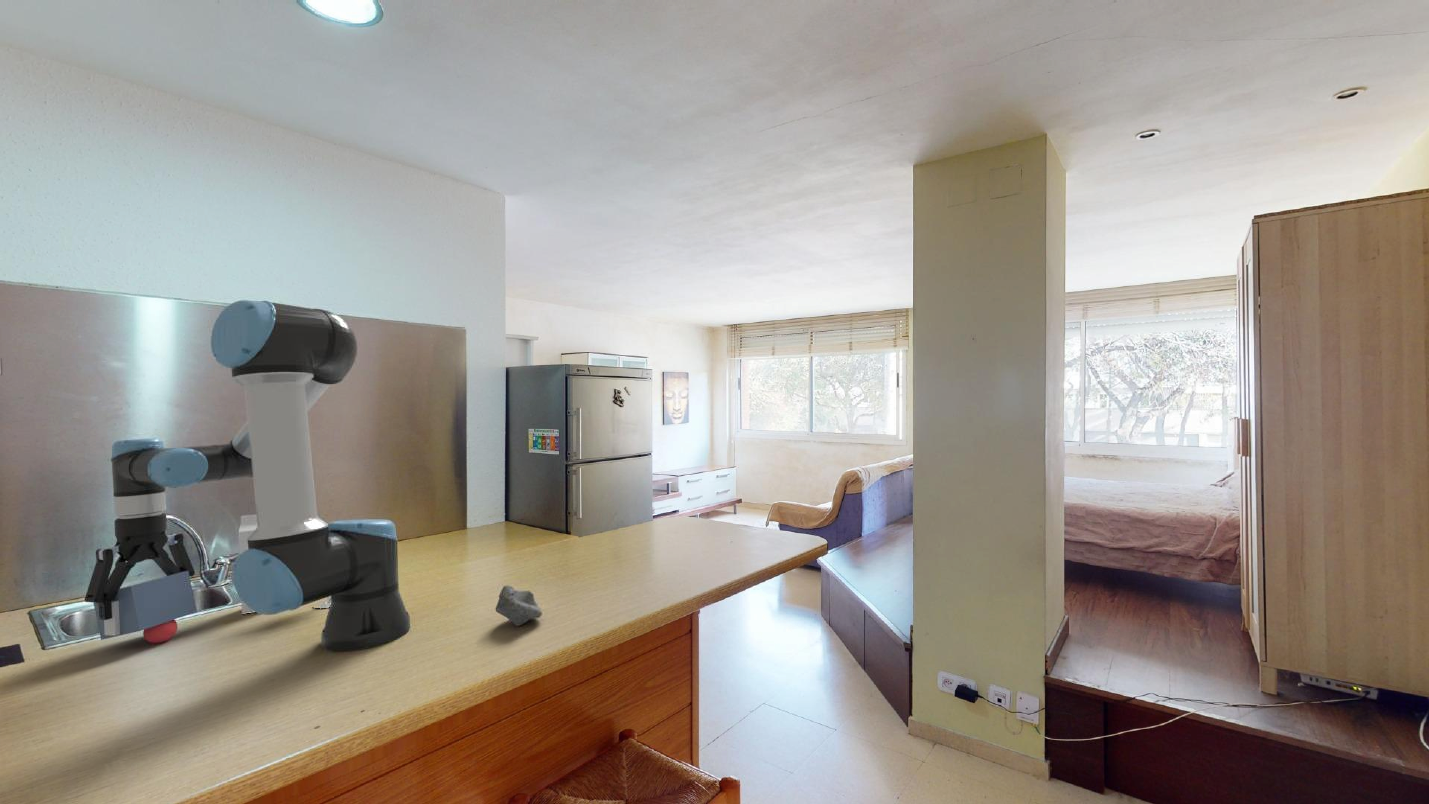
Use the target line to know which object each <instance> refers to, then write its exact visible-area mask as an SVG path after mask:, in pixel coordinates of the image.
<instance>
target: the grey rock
mask: <svg viewBox="0 0 1429 804" xmlns="http://www.w3.org/2000/svg"><path fill="white" fill-rule="evenodd" d="M498 597H499V598H498V601H497V603H496V606H495V612H496V613H497V614H499V615H501V616H503V617H504V618H507V620H509V621H510V622H511V623H513V625H515V626H516V627H519V626H522V625H524V624H526V623H527V622H528V621H530V620H533V619H539V618H541V617H542V615H543V613H542V612H543V611H542V609H541V607H540V606H539V605H538V603H537V602H536V599H535V596H534V593H533V592H531V591H530V590H516V589H514V587H513V586H511V585H503V587H502V589H501V591H500V593H499V595H498Z"/></svg>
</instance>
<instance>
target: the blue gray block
mask: <svg viewBox="0 0 1429 804" xmlns="http://www.w3.org/2000/svg"><path fill="white" fill-rule="evenodd" d="M195 600H196V599H195V595H194V590H193V586H192V581H191V576H189V572H188V571H185V572H181V573H177V574H173V575H169V576H167V575H165V576H161V577H157V578H154V579H150V580H147V581H142V582H138V583H135V584H130V585H127V586H124V587H120V589H118V593H117V594H116V596H115V598H114V601H119V621H120V634H119V635H116V636H112V635H105V631H104V620H100V618H99V605H98V603H93V606H94V607H93V608H94V611H95V617H96V622H97V626H98V632H99V637H100V640H101V641H102V640H106V639H107V640H108V639H111V638H115V637H119V636H124V635H130V634H132V633H133V634H134V633H138V632H141V631H142V632H143V631H144V630H145V629H148V628H151V627H153V626H156V625H159V624H162V623H165V622H168V621H171V620H176V619H181V618H183V617H186V616H189V615H191V614H194V613H197V612H198V610H197V606H196V601H195Z"/></svg>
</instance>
